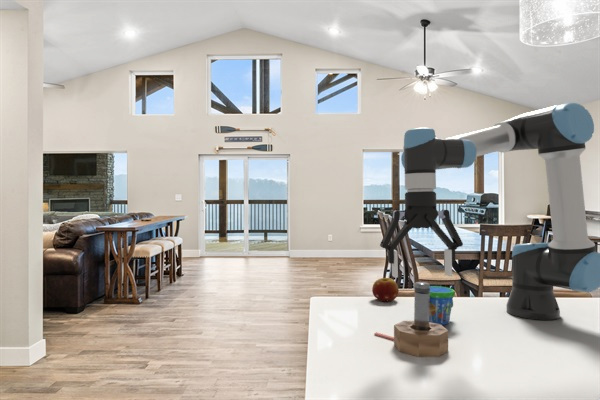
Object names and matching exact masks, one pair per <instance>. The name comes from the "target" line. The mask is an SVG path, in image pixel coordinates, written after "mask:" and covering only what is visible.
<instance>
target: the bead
mask: <svg viewBox="0 0 600 400" xmlns="http://www.w3.org/2000/svg"><path fill="white" fill-rule="evenodd" d="M393 337H394V341H393V345H394V347H396V349H397V350H398V352H399V353H403V354H408V355H411V356H414V357H417V358H418V357H419V358H420V357H421V358H424V357H425V358H427V357H429V358H431V357H432V358H433V357H435V358H436V357H441V356H443V355H444V354H445V353H447V352H449V329H447V328H446V327H444V325H440V324H436V323H431V322H429V330H428V331H419V330H414V320H402V321H400V322H398V323H394V325H393Z"/></svg>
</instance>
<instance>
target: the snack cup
mask: <svg viewBox="0 0 600 400" xmlns="http://www.w3.org/2000/svg"><path fill="white" fill-rule="evenodd" d="M455 296H456V291H455V290H454V289H453V288H450V287H446V286H439V285H430V307H429V322H431V323H436V324H440V325H442V326H445V325H448V324H449V323H450V319H451V314H452V308H453V307H454V300H453V298H454V297H455Z"/></svg>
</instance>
